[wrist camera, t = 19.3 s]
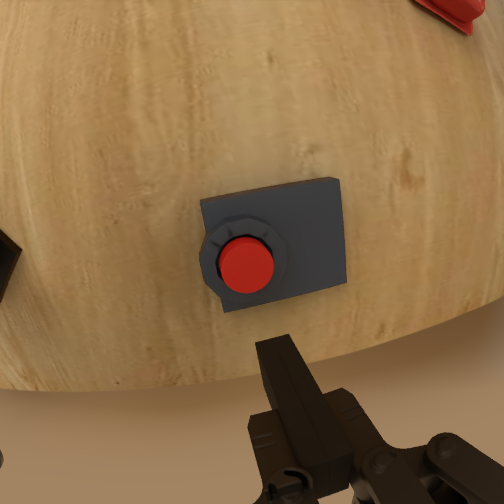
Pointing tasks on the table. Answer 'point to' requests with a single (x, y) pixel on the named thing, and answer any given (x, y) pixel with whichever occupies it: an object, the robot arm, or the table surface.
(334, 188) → the button block
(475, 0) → the butter dish
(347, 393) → the robot arm
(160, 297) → the table surface
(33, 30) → the table surface
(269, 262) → the button
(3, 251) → the bracket
